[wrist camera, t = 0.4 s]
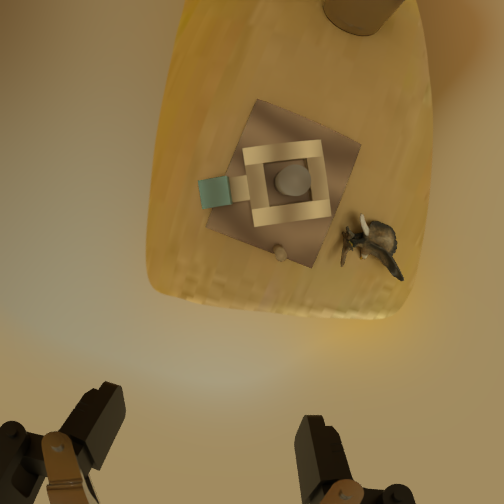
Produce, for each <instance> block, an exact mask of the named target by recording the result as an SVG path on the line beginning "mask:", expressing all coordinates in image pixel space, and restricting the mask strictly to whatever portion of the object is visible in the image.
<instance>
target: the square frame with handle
mask: <svg viewBox="0 0 504 504" xmlns="http://www.w3.org/2000/svg"><path fill="white" fill-rule="evenodd" d="M242 150H243V156H244V162H245V169H246V175H244V176H237V177H231V178H229V177H228V176H222V177H216V178H210V179H205V180H200V181H198V185H199V191H200V198H201V204H202V209H206V208H212V207H218V206H224V205H231V204H232V203H234V202H239V201H245V200H250V202H251V208H252V215H253V222H254V227H258V226H265V225H272V224H279V223H286V222H293V221H300V220H307V219H315V218H322V217H330V216H331V207H330V199H329V191H328V183H327V176H326V169H325V163H324V156H323V150H322V144H321V140H308V141H297V142H288V143H279V144H270V145H262V146H255V147H248V148H242ZM295 160H304V164H305V168H306V169H307V170H308V172H309V173H310V176H311V185H310V188H309V189H308V192H309V200H310V201H302V202H295V203H287V204H280V205H272V206H269V201H268V194H267V187H266V180H265V174H264V167H263V164H270V163H278V162H286V161H295Z"/></svg>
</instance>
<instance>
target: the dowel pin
mask: <svg viewBox="0 0 504 504" xmlns="http://www.w3.org/2000/svg"><path fill="white" fill-rule="evenodd" d="M273 251H274V253H275V256H276V259H277V260H278V261H281V262H282V261H285V260H286V258H287V254H286V252H285V250H284V248H283V246H282V245H281V244H275V245H274V246H273Z"/></svg>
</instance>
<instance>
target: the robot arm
mask: <svg viewBox="0 0 504 504" xmlns="http://www.w3.org/2000/svg"><path fill="white" fill-rule="evenodd" d="M404 1H405V0H325V1H324V3H323V9H324V12H325V14H326V16H327V17H328V18H329V20H330V21H332V22H333V23H334V24H335V25H336V26H338V27H339V28H341V29H343V30H345V31H347V32H349V33H352V34H356V35H362V36H366V35H371V34H374V33H375V32H377V31H378V30H379V28H380V27H381V26H382V25H383V24H384V23H385V22H386V21H387V20H388V18H389V17H390V16H391V15H392V14H393V13H394V12H395V11H396V9H397V8H398V7H399V6H400V5H401V4H402V3H403V2H404ZM125 413H126V408H125V402H124V397H123V391H122V387H121V386H119V385H116V384H113V383H109V382H106V381H105V382H104V383H103V384H102V385H101V387H100V388H99V390H97V389H94V388H93V389H91V390H90V391H88V392H87V393H85V394H84V395H83V397H82V398H81V400H80V401H79V403H78V404H77V405H76V407H75V409H73V411H72V412H71V414H70V415H69V417H68V418H67V420H66V421H65V423H64V424H63V426H62V427H61V428H60V430H59V431H58V432H57V431H54V432H49V433H47V434H46V435H45V436H43V435H38V434H34V433H29V432H26V430H25V428H24V427H23V426H22V425H21V424H20V423H18V422H15V421H8V422H6V423H4V424H3V425H2V426H1V427H0V504H33V503H34V501H35V498H36V496H37V494H38V492H39V489H40V487H41V485H42V483H43V481H44V479H45V477H48V480H49V485H47V486H46V488H47V494H48V497H49V501H50V504H101V503H100V501H99V498H98V496H97V494H96V491H95V489H94V486H93V483H92V481H91V478H90V475H89V472H90V470H91V468H94V469H96V470H100V468H101V466H102V464H103V462H104V460H105V458H106V456H107V454H108V452H109V449H110V447H111V445H112V443H113V441H114V439H115V437H116V435H117V433H118V431H119V429H120V427H121V425H122V423H123V421H124V418H125ZM341 443H342V442H341V439H340V436H339V434H338V432H337V431H336V430H335V429H334V428H333V427H332V426H325V423H324V419H323V417H322V415H305V416H304V417H303V419H302V422H301V424H300V426H299V429H298V431H297V434H296V436H295V442H294V447H295V454H296V461H297V469H298V476H299V482H300V490H301V498H302V504H416V503H415V500H414V497H413V494H412V492H411V490H410V489H409V488H408V487H407V486H405V485H401V484H394V485H391V486H389V487H387V488H386V489H385V490H377V489H367V488H363V487H362V486H361V485H360V484H359V483H358V482H356V481H354V480H353V478H352V475H351V472H350V469H349V465H348V462H347V459H346V455H345V452H344V449H343V446H342V444H341Z"/></svg>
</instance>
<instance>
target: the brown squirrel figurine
mask: <svg viewBox="0 0 504 504" xmlns="http://www.w3.org/2000/svg"><path fill="white" fill-rule="evenodd" d="M360 222H361V227H362V229H363V232H362V233H357V234H354V233H352V231H350V230H349V228H348V226H347V227H346V233H345V232H342V235H343V236H344V245H343V250H342V256H341V267H343V265H344V263H345V259H346V254H347V252H348V251H349V250H352V251H353V247H357V246H358V247H361V257H360V259H363V258H364V259H366V258H367V256H368V255H369V254H371V255H373V256H375V257H377V258H378V259H379V260H380V261H381V262H382V264H383V265H384V266H386V267H387V268H388V270H389V271H390V273H391V274H392V275H393V276H394V277H396V278H397V279H399V280H400V281H404V278H403V275H402V274H401V272H400V270H399V268H398V266H397V264H396V262H395V260H394V259H393V257H392V256H393V253H395V252H396V251H395V250H396V249H397V246H396V245H397V241H396V240H395V239H396V236H395V232H394V230H393V228H391V227H390V226H388V225H385V224H383V223H381V222H379V221H375V222H374V221H372V222H371V225H370V227H368V226H367V224H366V222H365V218H364V215H363V214H362V213H361V215H360ZM349 234H350V235H349Z"/></svg>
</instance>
